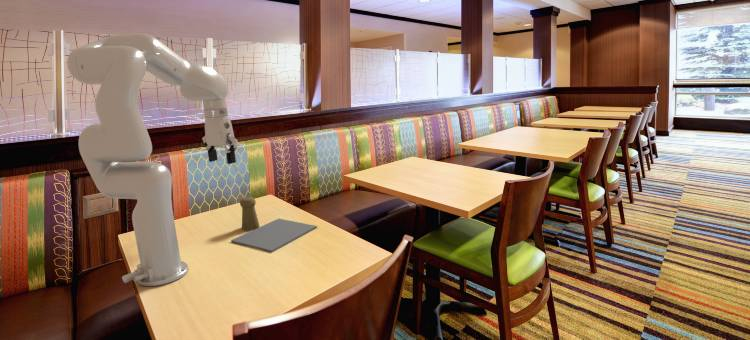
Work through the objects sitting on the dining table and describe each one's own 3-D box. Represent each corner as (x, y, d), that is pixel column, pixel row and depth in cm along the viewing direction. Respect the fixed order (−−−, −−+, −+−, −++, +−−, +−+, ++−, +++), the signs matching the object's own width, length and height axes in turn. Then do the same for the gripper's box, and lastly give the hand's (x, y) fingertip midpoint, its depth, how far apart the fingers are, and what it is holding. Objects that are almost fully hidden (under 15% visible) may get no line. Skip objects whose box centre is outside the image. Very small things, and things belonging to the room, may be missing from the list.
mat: (271, 252, 121) (271, 250, 121) (231, 241, 130) (231, 240, 130) (317, 227, 139) (317, 226, 139) (278, 219, 148) (278, 218, 148)
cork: (248, 231, 138) (245, 201, 135) (238, 228, 141) (234, 198, 139) (263, 226, 142) (259, 197, 140) (252, 223, 146) (249, 194, 143)
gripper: (241, 113, 136) (247, 161, 140) (209, 112, 145) (215, 158, 149) (223, 115, 130) (230, 166, 134) (190, 114, 139) (197, 162, 143)
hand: (222, 162), depth 142 cm, fingers open, 9 cm apart
